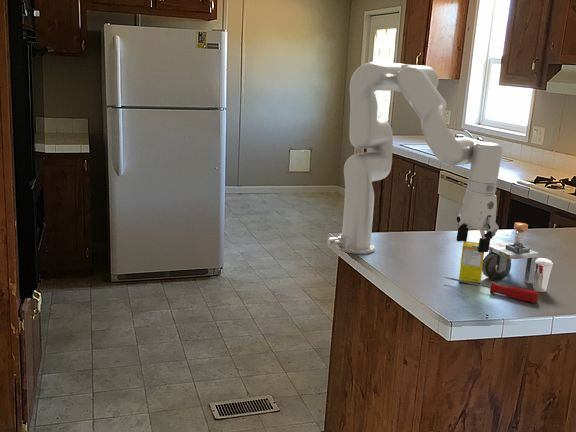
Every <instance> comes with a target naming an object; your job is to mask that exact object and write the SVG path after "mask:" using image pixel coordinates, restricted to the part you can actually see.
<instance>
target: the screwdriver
mask: <svg viewBox="0 0 576 432" xmlns="http://www.w3.org/2000/svg"><path fill="white" fill-rule="evenodd" d="M443 278H444V279H446V280H447V279H448V280H451V281H456V282H458V283H460V282H464V283H463V284H468V283H469V284H470V285H475V286H477V287H483V288H487V289H489V293H490V294H491V295H492V294H499V295H504V296H507V297H509V298H511V299H514V300H517V301H523V302H527V303H531V304H537V303H538V301H539V297H540V295H539V294H540V293H539V292H538V291H536V290H534V289H529V288H525V287H520V286H515V285H511V286H510V285H508V286H507V285H501V284H498V283H496V281H495V282H494V281H492V282H491V285H487V284H486V285H485V284H482V283H480V284H477V283H473V282H468V281H463V280H459V278H453V277H447V276H444V277H443ZM469 284H468V285H469Z"/></svg>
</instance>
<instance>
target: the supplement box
mask: <svg viewBox="0 0 576 432" xmlns="http://www.w3.org/2000/svg"><path fill="white" fill-rule="evenodd" d="M462 242H463V243H462V249H461V257H460V258H461V259H460V266H459V274H458V275H459V277H458V279H459V280H463V281H468V282H473V283H477V284H482V283H481V281H482V275H483V272H482V266H483V260H484V258H485V256H484V255H485V252H478V246H479V242H477V241H468V240H467V241H462ZM459 283H461V284H465V283H464V282H459ZM467 284H468V285H469V283H467Z"/></svg>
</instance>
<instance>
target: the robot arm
mask: <svg viewBox="0 0 576 432" xmlns="http://www.w3.org/2000/svg"><path fill="white" fill-rule="evenodd" d="M439 82H440V79H439V76H438V74H437V71H436V70H435V69H433V68H432V67H430V66H428V65H417V64H405V63H399V62H398V63H396V62H389V61H388V62H385V61H369V62H366V63H365V62H364V63H363V64H361V65H360V66H358V67H357V68H356V69H355V71H353V73H352V76H351V78H350V81H349V99H350V104H349V105H350V108H349V109H350V110H349V130H348V131H349V141H350V144H351V145H352V146H353V147H354V148H356V149H360V150H362V149H365V150H366V152H359V153H354V154H351V155H350V156H349V157H348V158H347V159H346V161H345V163H344V166H343V177H344V178H343V179H344V186H345V187H344V199H343V200H344V203H343V204H344V205H343V215H342V217H343V218H342V231H341V233H339V235H338V236H336V237H328V238H327V242H328V244H330V245H331V244H334V245H336V249H338V251H341V252H344V253H347V254H355V255H367V254H371V253H374V252H375V249H376V247H375V245H374V244H373V243H371V242H372V230H373V219H374V206H375V191H374V186H373V182H377V181H381V180H384V179H385V178H387V177H388V176H389V174H390V172H391V170H392V164H393V147H394V146H393V144H394V143H393V141H394V139H393V137H394V133H393V129H392V126H391V124H390V123H389V122H388V120H386V119H384V118H381V117H378V101H377V97H376V95H375V92H376V91H383V92H384V91H394V92H400V93H402V95H403V97H404V98H405V99H406V101H407V102H408V104H409V106H411V107H412V109H413V110H414V112H415V114H416V115H417V117H418V119H420V126H421V131H422V135H423V138H424V141H425V143H426V144H427V146H428V147H429V149H430V150H431V152H432V153H433V155H434V156H435V158H436V159H437V160H438V161H439V162H440V163H441V164H443V165H445V166H447V167H455V166H460V165H461V166H462V165H463V166H464V165H470V168H469V175H468V180H467V188H466V191H465V193H464V196H463V200H462V204H461V208H458V209H456V210H455V214H456V222H457V225H456V226H457V234H456V241H457V242H464V241H468V235H469V230H470V229H469V228H470V227H471V228H473V229H475V230H477V231H479V233H480V236H481V237H479V241H478V243H479V246H478V252H484V253H489V245H490V243H491V240H493V237H494V236H495V235H496V233H497V232H498V230H499V225H498V224H497V222H496V219H497V207H498V203H497V202H498V201H497V200H498V199H497V195H496V191H497V186H498V185H497V184H498V178H499V174H500V167H501V162H502V155H503V146H502V145H501V144H499V143H495V142H489V141H480V140H478V139H475V138H471V137H467V136H466V137H464V136H463V137H454V135H453V134H452V132H451V130H450V129H449V128H448V126H447V124H446V123H445V120H444V112H445V110H446V109H447V102H446V100H445V99H444V97H443V96H442V95H441V93H440V92H439V90H438V89H437V88H438V86H439ZM485 231H486V232H485Z"/></svg>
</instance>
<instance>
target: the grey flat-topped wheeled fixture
mask: <svg viewBox="0 0 576 432" xmlns="http://www.w3.org/2000/svg"><path fill="white" fill-rule="evenodd" d="M513 246H514V242H513V241H497V242H490V245H489V251H488V253H487V254H486V255H485V256H484V258H483V266H482V275H484V276H485V277H487V278H489V279H491V280H492V281H495V282H499V281H500V282H501V281H502V280H505V278H507V276H508V275H509V274H510V272H511V269H512V260H516V259H517V260H519V259H527V260H526V264H525V265H526V267H525V273H524V278H523V279H524V280H523V283H526V284H527V285H529V284H533V283H534V274H535V261H536V260H537V258H539V252H537V251H535V250H532V249H531V248H530V247H528V246H526V245H524V244H523V247H522V248H518V249H517V248H515V247H513Z"/></svg>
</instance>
